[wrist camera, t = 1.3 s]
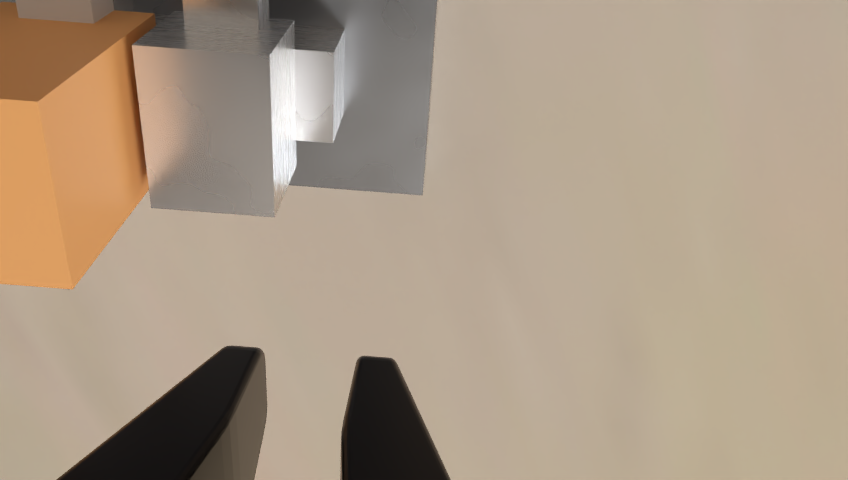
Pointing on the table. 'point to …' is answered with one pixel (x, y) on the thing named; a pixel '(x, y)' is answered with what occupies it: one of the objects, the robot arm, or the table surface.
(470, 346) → the table surface
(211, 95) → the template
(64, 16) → the slider
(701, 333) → the table surface
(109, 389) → the table surface
